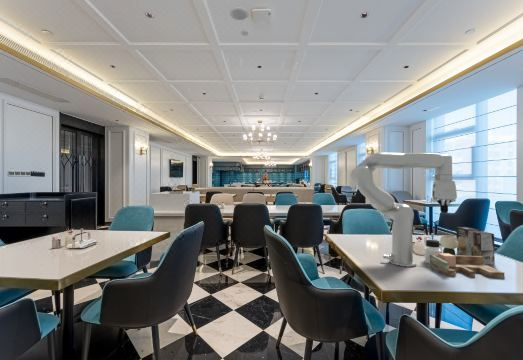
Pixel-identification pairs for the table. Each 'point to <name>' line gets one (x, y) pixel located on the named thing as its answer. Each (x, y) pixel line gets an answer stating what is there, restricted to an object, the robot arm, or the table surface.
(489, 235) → the coffee box
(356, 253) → the table surface
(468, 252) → the coffee box
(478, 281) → the table surface
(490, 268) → the trap box
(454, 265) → the block
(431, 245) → the medicine bottle
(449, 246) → the character mug
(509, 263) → the table surface
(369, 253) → the table surface
